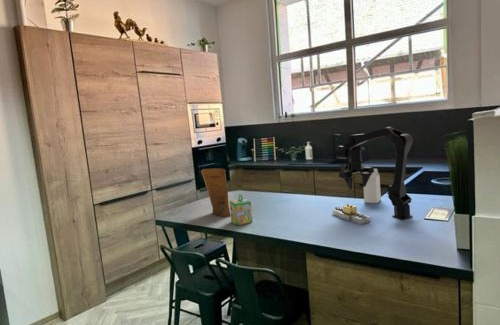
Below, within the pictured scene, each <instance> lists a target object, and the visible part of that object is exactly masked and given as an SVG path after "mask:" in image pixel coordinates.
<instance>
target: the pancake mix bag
mask: <svg viewBox="0 0 500 325" xmlns="http://www.w3.org/2000/svg"><path fill="white" fill-rule="evenodd" d="M200 173H201V175H202V178H203V181H204V183H205V187H206V190H207V194H208V197H209V201H210V204H211V207H212V213H211V214H212V215H214V216H217V217H218V216H220V217H223V218H226V217H227V218H228V217H231V211H230V201H229V192H228V191H229V190H228V183H227V175H226V169H224V168H219V167H218V168H217V167H216V168H202V170H201V172H200Z"/></svg>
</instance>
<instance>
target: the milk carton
mask: <svg viewBox="0 0 500 325" xmlns="http://www.w3.org/2000/svg"><path fill="white" fill-rule="evenodd" d="M373 169H374V173H372V175H371V176H370V178H369V180H368V182H367V184H366V186H365V187H364V186H363V185H362V186H363V201H364V203H367V204H369V203H370V204H378V203H379V202H380V201H381V200H382V196H381V178H380V173H379V170H378V168H373Z"/></svg>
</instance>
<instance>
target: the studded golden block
mask: <svg viewBox="0 0 500 325" xmlns="http://www.w3.org/2000/svg"><path fill="white" fill-rule="evenodd" d="M342 208H343V210H344V214H347V215H350V216H352V215H355V213H357V212H358V209H357V206H356V205H352V204H348V203H347V204H346V205H343V207H342Z"/></svg>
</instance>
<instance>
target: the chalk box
mask: <svg viewBox="0 0 500 325" xmlns="http://www.w3.org/2000/svg"><path fill="white" fill-rule="evenodd" d="M229 210H230V215H231V216H230V219H231V222H232V223H233V224H235V226H241V225H246V224H252V223H253V214H252V202H251V200H249V199H247V198H243V194H241V193H240V194H239V195H238V199H234V200H229ZM251 222H252V223H251Z"/></svg>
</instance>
